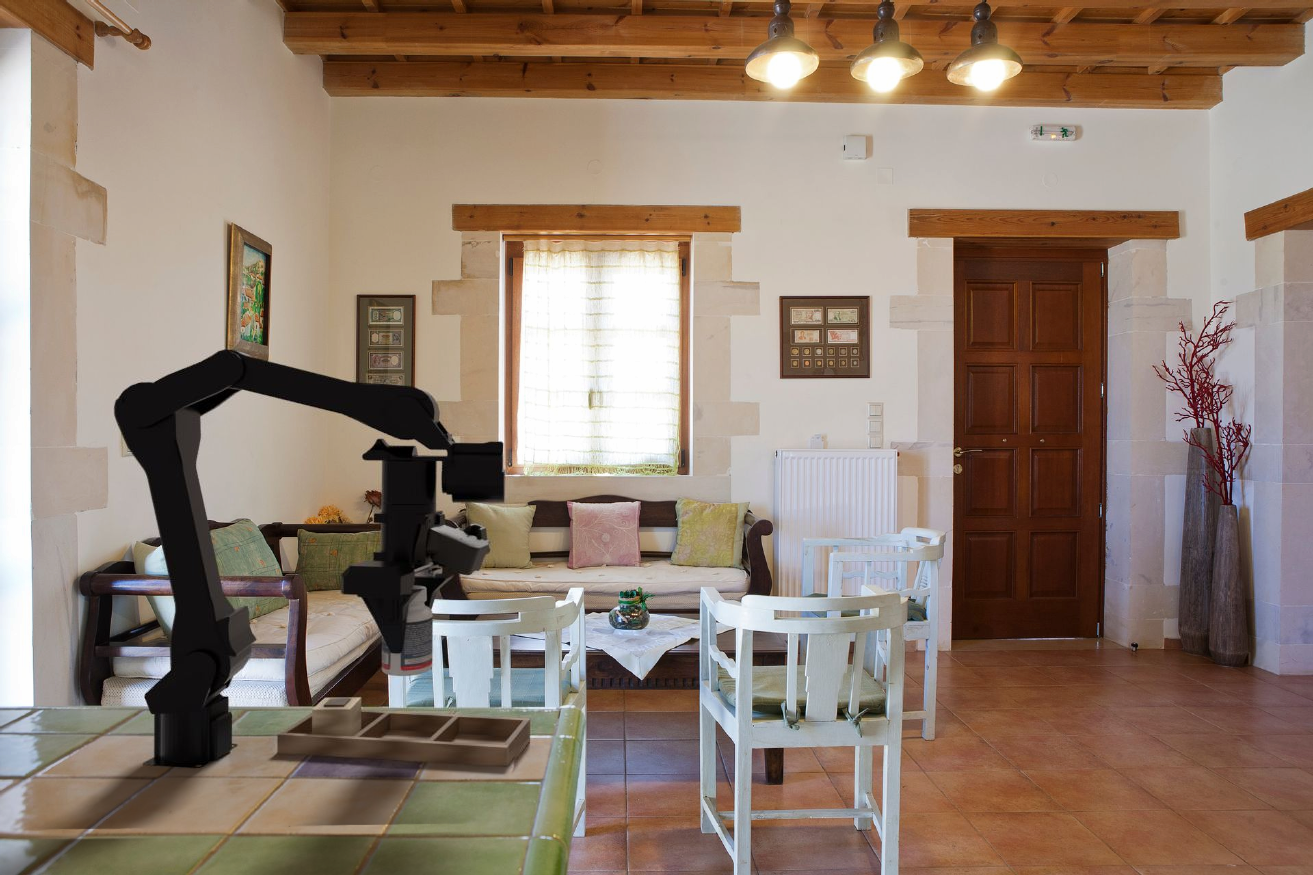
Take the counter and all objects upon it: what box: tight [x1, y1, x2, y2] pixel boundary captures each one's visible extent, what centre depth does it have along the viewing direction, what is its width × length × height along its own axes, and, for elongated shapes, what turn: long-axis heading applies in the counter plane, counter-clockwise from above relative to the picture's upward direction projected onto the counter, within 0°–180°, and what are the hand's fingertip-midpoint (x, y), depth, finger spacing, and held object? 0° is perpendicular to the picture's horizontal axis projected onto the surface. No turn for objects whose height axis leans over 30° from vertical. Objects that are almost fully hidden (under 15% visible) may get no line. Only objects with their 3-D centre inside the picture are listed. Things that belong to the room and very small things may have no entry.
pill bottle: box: [381, 585, 434, 677], centre depth 91 cm, size 5×5×9 cm
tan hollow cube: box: [311, 696, 362, 737], centre depth 92 cm, size 4×4×4 cm
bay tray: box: [276, 709, 531, 768], centre depth 91 cm, size 25×9×2 cm, turn 83°
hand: (407, 646), depth 91 cm, fingers closed on pill bottle, 5 cm apart
